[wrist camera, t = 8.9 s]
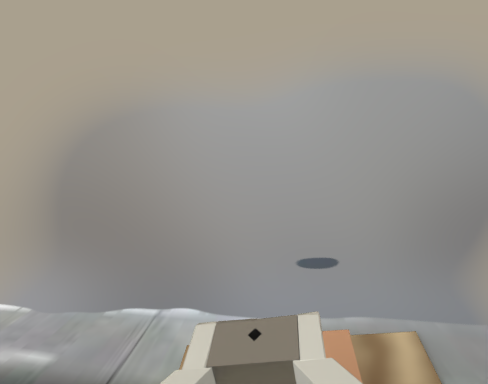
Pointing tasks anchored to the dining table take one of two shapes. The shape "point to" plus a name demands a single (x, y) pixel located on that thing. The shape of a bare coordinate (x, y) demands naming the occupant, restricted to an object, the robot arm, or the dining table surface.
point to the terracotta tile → (341, 350)
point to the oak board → (389, 359)
